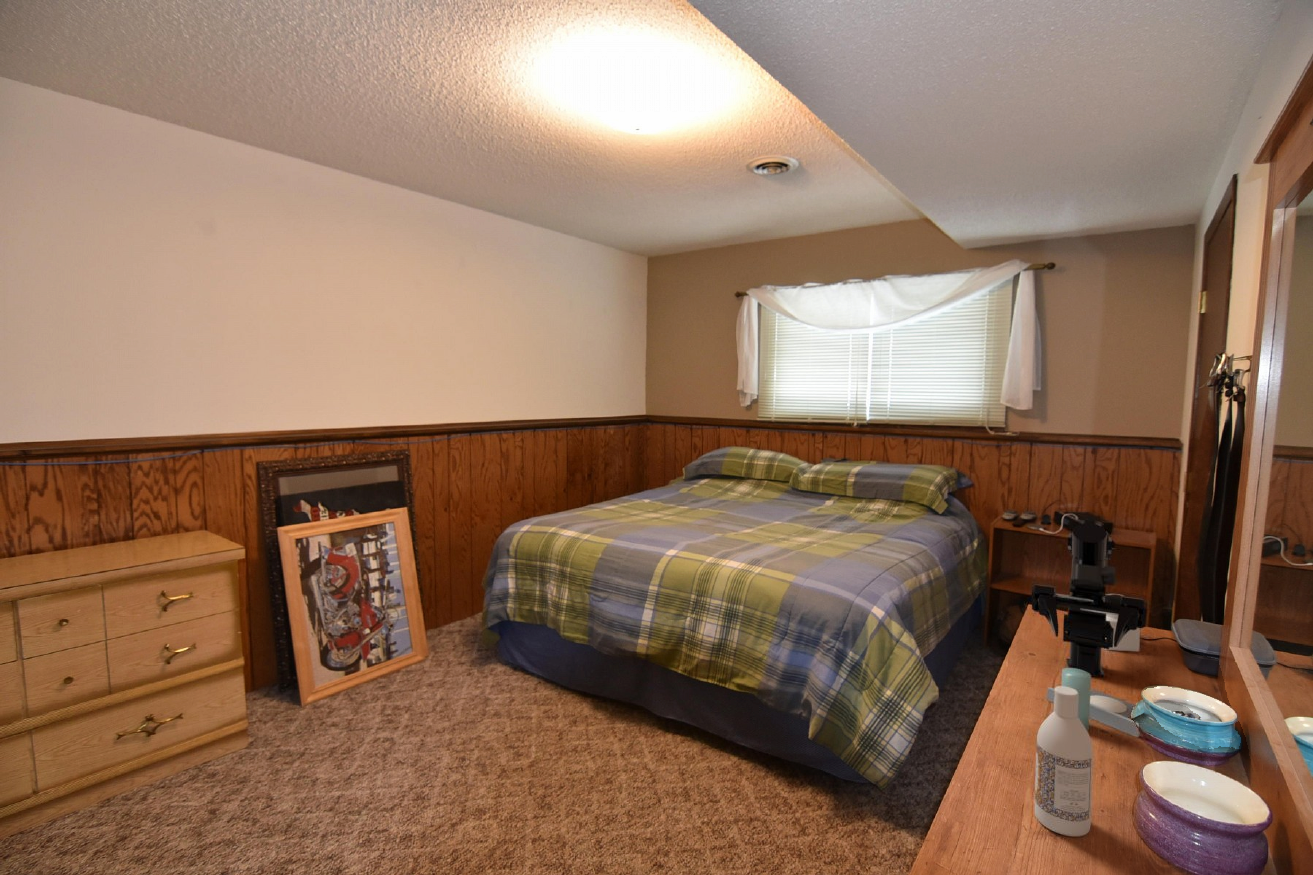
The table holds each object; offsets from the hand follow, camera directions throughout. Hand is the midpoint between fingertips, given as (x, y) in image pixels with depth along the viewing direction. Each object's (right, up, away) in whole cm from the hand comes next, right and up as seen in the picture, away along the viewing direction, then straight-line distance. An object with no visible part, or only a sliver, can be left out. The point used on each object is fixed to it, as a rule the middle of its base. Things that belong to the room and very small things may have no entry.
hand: (1085, 640), depth 122 cm
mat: (+6, -14, +4) cm, 16 cm away
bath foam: (-22, -18, -27) cm, 39 cm away
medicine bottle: (+29, -12, +33) cm, 45 cm away
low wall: (+2, -15, +1) cm, 15 cm away
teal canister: (-3, -15, -2) cm, 16 cm away
